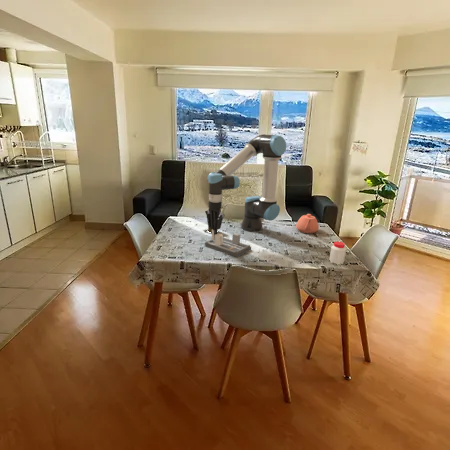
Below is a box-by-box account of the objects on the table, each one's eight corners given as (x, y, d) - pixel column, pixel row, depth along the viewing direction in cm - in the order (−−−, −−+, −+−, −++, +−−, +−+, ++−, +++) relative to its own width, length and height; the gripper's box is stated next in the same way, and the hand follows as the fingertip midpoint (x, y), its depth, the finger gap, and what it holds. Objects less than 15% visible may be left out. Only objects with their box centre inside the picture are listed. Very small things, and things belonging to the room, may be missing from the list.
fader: (214, 244, 176) (215, 234, 174) (217, 242, 178) (218, 233, 176) (219, 245, 174) (219, 236, 172) (222, 244, 176) (222, 234, 174)
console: (204, 245, 179) (205, 232, 177) (219, 239, 190) (219, 227, 187) (237, 257, 165) (238, 243, 163) (251, 249, 176) (252, 236, 173)
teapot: (319, 237, 201) (322, 220, 197) (295, 235, 204) (297, 217, 200) (316, 227, 221) (319, 211, 217) (295, 225, 224) (297, 209, 220)
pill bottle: (328, 263, 163) (331, 244, 159) (329, 257, 170) (332, 239, 166) (343, 265, 160) (347, 247, 157) (343, 260, 167) (347, 242, 164)
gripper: (202, 200, 171) (201, 238, 179) (219, 204, 164) (218, 244, 171) (210, 197, 177) (209, 235, 184) (228, 201, 169) (226, 240, 177)
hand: (213, 239), depth 178 cm, fingers closed
